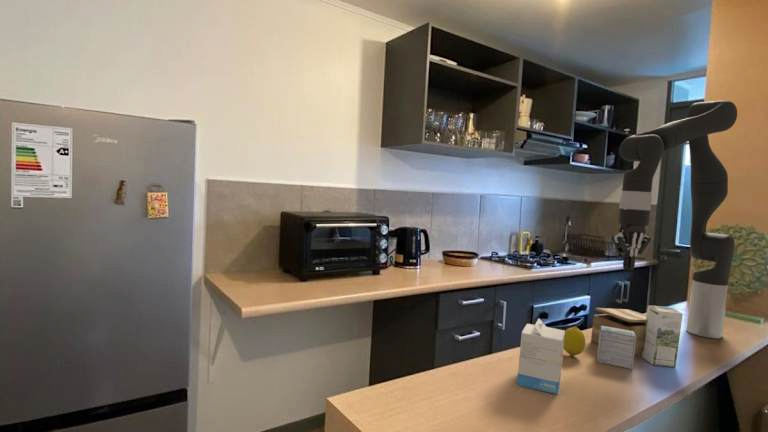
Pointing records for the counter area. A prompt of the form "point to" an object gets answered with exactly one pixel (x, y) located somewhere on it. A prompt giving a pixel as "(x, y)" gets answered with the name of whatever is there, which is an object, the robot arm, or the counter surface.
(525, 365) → the ink box
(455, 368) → the counter surface
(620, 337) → the medicine box
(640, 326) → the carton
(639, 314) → the lid flap
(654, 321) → the syrup box
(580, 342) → the lemon
